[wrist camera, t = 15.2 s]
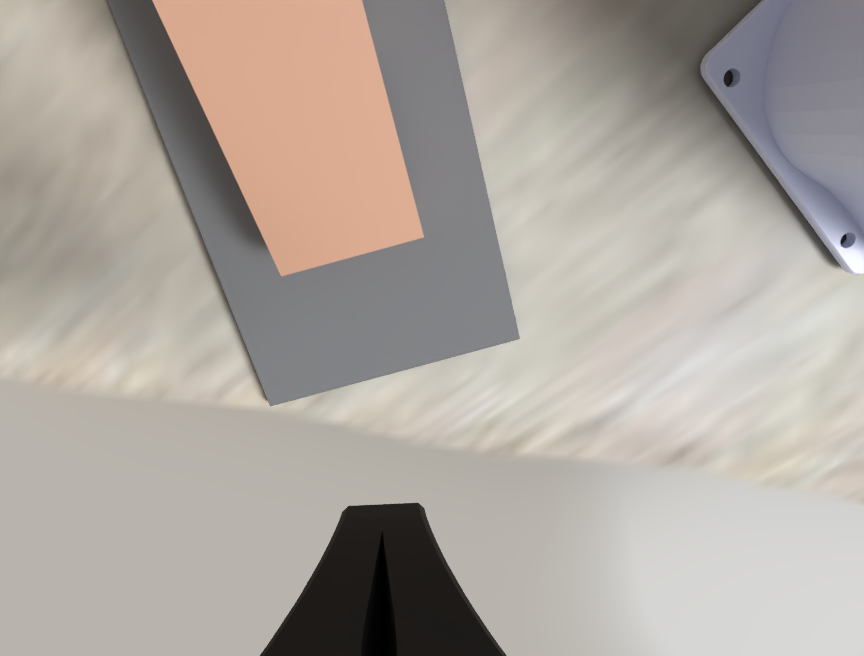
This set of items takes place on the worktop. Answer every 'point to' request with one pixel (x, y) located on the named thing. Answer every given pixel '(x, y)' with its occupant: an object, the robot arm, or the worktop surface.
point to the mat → (364, 274)
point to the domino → (300, 122)
